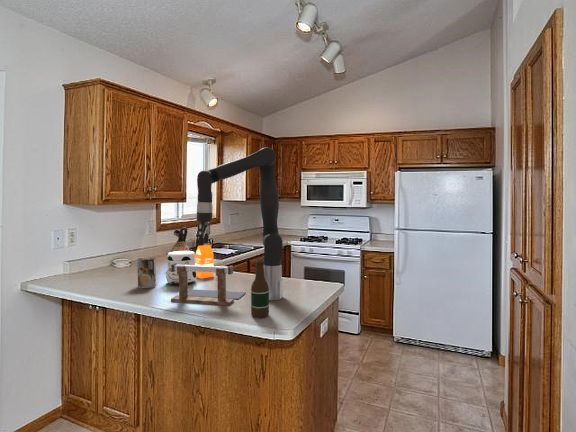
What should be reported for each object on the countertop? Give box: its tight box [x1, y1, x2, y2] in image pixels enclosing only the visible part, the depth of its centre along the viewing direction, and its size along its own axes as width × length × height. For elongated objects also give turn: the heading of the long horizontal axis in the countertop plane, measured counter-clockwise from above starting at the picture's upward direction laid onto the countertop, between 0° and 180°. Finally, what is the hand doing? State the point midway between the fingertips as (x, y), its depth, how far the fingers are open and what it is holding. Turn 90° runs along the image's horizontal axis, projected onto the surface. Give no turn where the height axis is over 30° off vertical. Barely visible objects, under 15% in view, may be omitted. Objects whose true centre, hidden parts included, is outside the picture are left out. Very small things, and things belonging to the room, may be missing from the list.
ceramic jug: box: [170, 226, 191, 252], centre depth 250 cm, size 17×15×30 cm
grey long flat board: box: [188, 288, 247, 300], centre depth 192 cm, size 32×12×1 cm, turn 79°
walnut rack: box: [170, 264, 235, 306], centre depth 178 cm, size 30×6×18 cm, turn 79°
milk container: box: [165, 250, 198, 286], centre depth 216 cm, size 17×17×18 cm
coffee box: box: [136, 257, 157, 289], centre depth 207 cm, size 9×6×16 cm
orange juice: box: [195, 244, 215, 279], centre depth 233 cm, size 8×9×20 cm
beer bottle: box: [250, 259, 270, 319], centre depth 158 cm, size 8×8×24 cm
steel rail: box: [171, 263, 234, 275], centre depth 178 cm, size 30×4×4 cm, turn 79°
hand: (203, 244), depth 181 cm, fingers open, 8 cm apart
